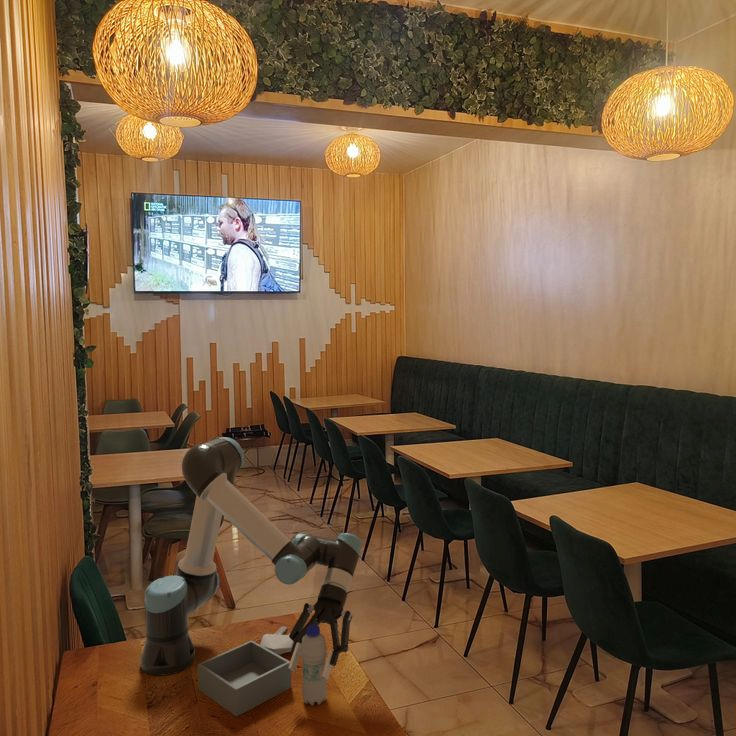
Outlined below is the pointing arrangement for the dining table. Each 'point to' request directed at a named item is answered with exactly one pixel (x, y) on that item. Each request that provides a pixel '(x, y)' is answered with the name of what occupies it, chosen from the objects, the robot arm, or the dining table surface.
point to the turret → (278, 642)
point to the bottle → (313, 665)
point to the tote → (244, 677)
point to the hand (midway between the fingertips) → (308, 673)
